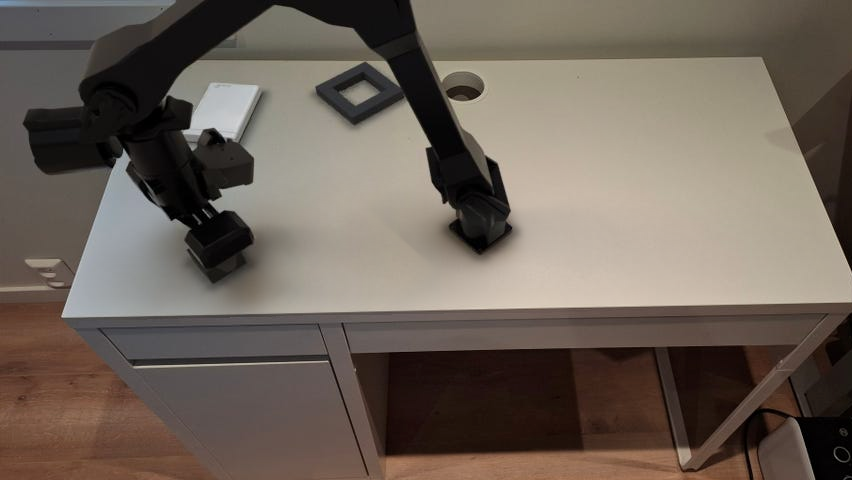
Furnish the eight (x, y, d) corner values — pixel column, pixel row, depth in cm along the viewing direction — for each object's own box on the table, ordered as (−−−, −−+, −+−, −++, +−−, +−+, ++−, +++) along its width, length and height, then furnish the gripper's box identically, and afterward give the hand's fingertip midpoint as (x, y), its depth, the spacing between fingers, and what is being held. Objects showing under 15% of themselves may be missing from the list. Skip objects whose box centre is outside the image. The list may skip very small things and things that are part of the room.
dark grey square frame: (404, 97, 99) (403, 89, 98) (354, 125, 95) (352, 117, 93) (366, 68, 103) (365, 61, 102) (316, 94, 99) (314, 86, 98)
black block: (247, 262, 79) (241, 251, 77) (212, 284, 77) (205, 273, 74) (227, 240, 81) (221, 229, 79) (193, 261, 79) (186, 249, 77)
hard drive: (210, 81, 97) (181, 133, 90) (259, 85, 97) (234, 137, 90) (213, 90, 99) (185, 141, 92) (262, 93, 99) (238, 145, 91)
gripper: (277, 167, 63) (308, 256, 76) (190, 83, 71) (231, 177, 83) (178, 222, 58) (229, 307, 71) (96, 125, 66) (155, 218, 79)
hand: (212, 247), depth 76 cm, fingers open, 9 cm apart
